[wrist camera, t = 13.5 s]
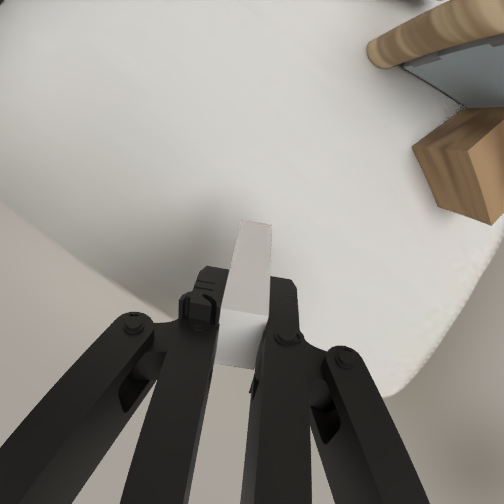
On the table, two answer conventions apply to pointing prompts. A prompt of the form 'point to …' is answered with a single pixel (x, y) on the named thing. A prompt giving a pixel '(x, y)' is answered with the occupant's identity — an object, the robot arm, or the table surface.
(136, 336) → the robot arm
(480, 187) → the walnut block
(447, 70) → the door
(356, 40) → the table surface
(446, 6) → the brown long wooden part
